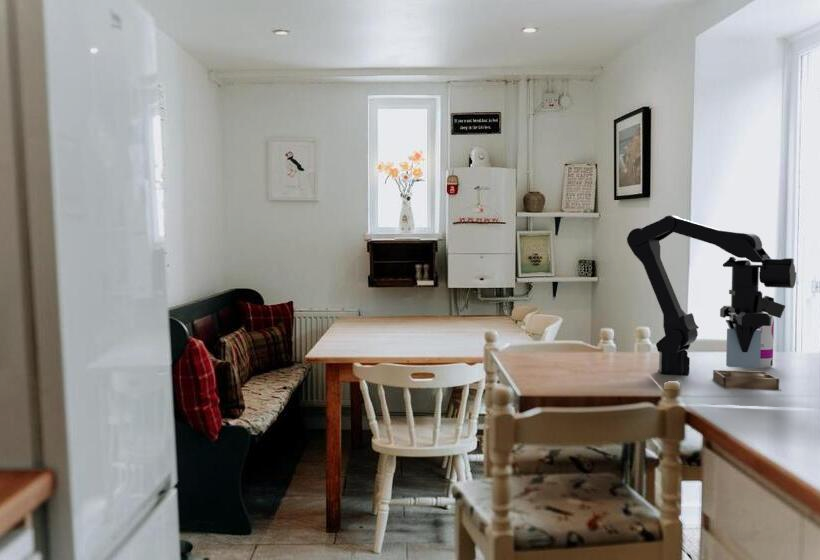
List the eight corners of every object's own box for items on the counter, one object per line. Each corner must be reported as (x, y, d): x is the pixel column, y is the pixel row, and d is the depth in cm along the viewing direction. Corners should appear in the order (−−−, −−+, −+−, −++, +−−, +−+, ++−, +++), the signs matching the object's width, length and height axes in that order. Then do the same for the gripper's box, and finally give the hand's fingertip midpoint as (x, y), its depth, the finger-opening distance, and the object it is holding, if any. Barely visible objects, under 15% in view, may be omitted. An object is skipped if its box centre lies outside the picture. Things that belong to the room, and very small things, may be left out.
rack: (724, 390, 155) (725, 378, 155) (712, 380, 166) (712, 369, 166) (781, 392, 153) (781, 380, 153) (764, 382, 164) (765, 370, 164)
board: (728, 367, 162) (729, 329, 161) (726, 365, 164) (727, 328, 163) (760, 367, 161) (761, 330, 160) (757, 366, 163) (758, 329, 162)
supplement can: (768, 365, 186) (769, 311, 185) (775, 371, 178) (777, 314, 177) (735, 363, 188) (737, 310, 187) (741, 369, 180) (743, 313, 179)
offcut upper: (734, 380, 157) (734, 375, 157) (730, 377, 161) (730, 372, 161) (764, 381, 156) (764, 376, 156) (759, 378, 160) (759, 373, 160)
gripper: (796, 289, 150) (794, 359, 151) (767, 283, 169) (766, 346, 170) (743, 289, 152) (741, 357, 153) (720, 283, 171) (718, 345, 172)
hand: (743, 351), depth 162 cm, fingers closed on board, 2 cm apart
